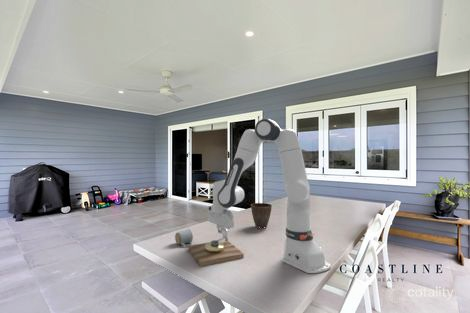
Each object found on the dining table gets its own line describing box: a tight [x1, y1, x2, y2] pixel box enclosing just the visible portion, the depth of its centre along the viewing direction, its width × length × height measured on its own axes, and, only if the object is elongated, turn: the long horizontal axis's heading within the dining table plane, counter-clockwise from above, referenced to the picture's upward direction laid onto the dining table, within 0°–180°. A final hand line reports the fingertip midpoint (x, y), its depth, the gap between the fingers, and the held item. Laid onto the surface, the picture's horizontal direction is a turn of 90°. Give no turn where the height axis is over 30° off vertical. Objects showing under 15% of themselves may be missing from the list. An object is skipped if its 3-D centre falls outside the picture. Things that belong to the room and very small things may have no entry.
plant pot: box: [250, 202, 273, 229], centre depth 162 cm, size 15×15×16 cm
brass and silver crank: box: [205, 228, 229, 253], centre depth 119 cm, size 10×16×8 cm, turn 145°
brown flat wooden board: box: [188, 240, 245, 267], centre depth 116 cm, size 22×22×2 cm
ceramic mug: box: [174, 228, 194, 248], centre depth 130 cm, size 11×8×8 cm
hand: (220, 233), depth 127 cm, fingers closed
